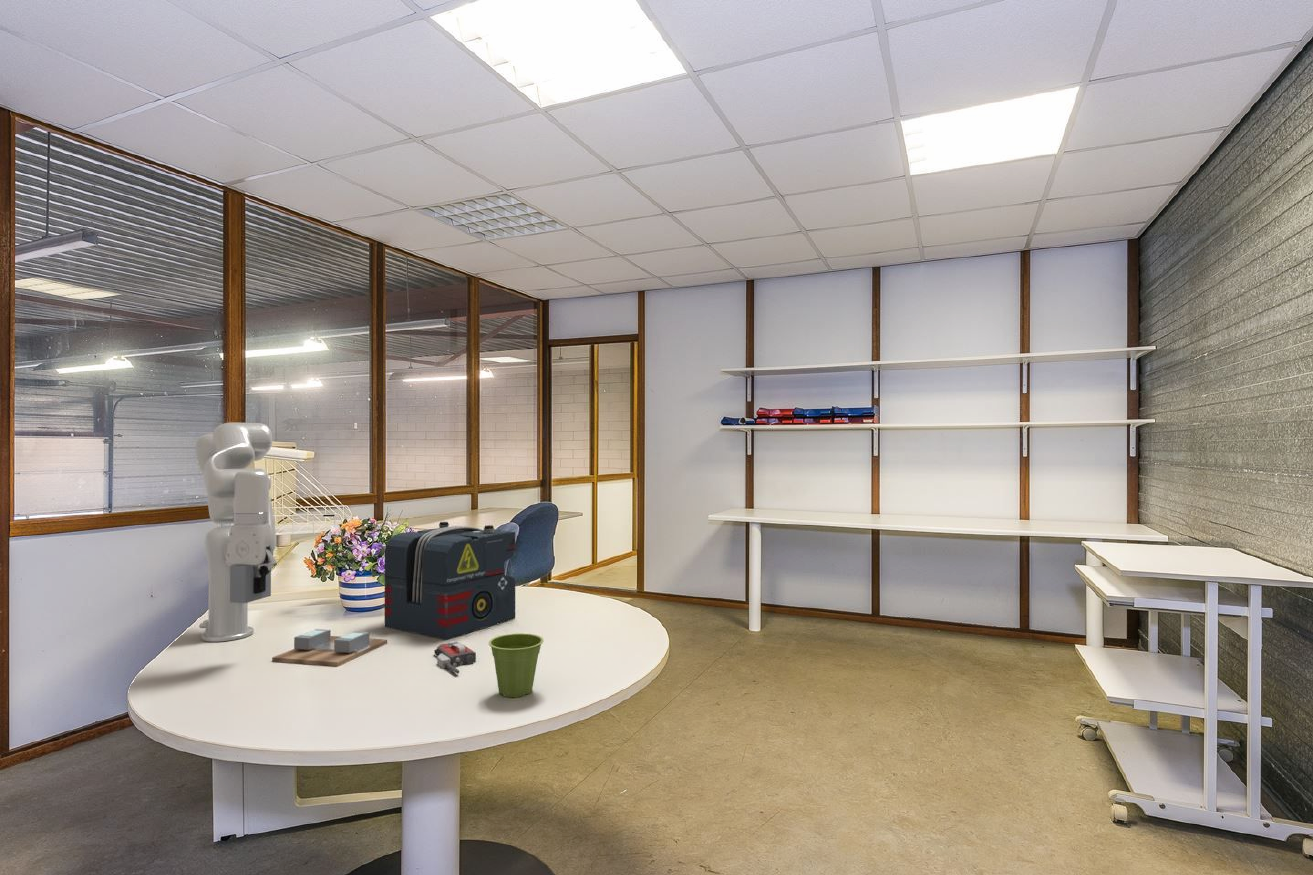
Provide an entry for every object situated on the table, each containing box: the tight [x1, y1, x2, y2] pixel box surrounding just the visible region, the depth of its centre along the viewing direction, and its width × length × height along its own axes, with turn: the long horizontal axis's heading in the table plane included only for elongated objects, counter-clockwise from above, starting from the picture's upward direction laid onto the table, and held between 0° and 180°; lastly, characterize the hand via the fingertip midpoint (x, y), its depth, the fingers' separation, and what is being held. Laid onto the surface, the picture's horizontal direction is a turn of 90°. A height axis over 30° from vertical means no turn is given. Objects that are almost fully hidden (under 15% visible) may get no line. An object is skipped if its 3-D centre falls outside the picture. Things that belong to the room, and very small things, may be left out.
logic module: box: [230, 563, 272, 603], centre depth 167 cm, size 4×8×9 cm, turn 168°
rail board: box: [271, 628, 388, 667], centre depth 175 cm, size 19×20×5 cm
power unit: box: [384, 521, 516, 641], centre depth 205 cm, size 28×28×30 cm
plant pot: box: [488, 632, 545, 698], centre depth 146 cm, size 12×12×11 cm
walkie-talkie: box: [433, 640, 477, 674], centre depth 166 cm, size 9×4×20 cm
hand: (250, 591), depth 167 cm, fingers closed on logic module, 4 cm apart
